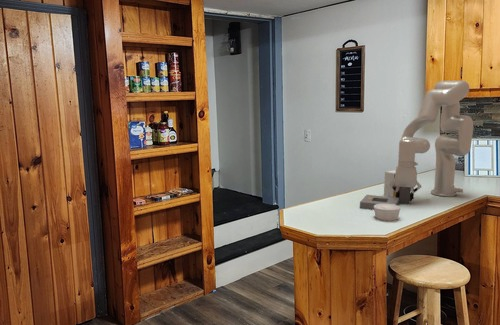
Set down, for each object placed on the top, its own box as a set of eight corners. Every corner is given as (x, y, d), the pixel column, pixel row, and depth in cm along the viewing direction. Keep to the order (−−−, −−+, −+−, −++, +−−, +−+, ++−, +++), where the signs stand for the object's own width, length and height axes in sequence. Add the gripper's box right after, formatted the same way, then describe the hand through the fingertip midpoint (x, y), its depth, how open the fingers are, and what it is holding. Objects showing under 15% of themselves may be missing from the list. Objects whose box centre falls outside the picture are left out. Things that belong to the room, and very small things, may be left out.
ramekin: (368, 218, 193) (369, 206, 193) (381, 213, 201) (381, 201, 200) (392, 223, 186) (392, 211, 185) (404, 217, 193) (404, 206, 192)
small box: (393, 197, 228) (394, 173, 226) (383, 195, 233) (384, 171, 231) (403, 195, 232) (404, 171, 230) (393, 193, 238) (394, 169, 235)
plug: (409, 201, 220) (410, 185, 218) (409, 204, 215) (410, 187, 213) (398, 201, 221) (399, 184, 219) (399, 203, 216) (400, 186, 215)
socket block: (399, 203, 216) (399, 197, 216) (394, 211, 202) (395, 204, 202) (366, 200, 223) (366, 194, 223) (359, 208, 209) (360, 201, 209)
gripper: (425, 164, 214) (423, 200, 217) (389, 162, 221) (387, 196, 224) (424, 166, 207) (422, 203, 210) (386, 164, 214) (385, 200, 217)
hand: (404, 199), depth 217 cm, fingers closed on plug, 5 cm apart
